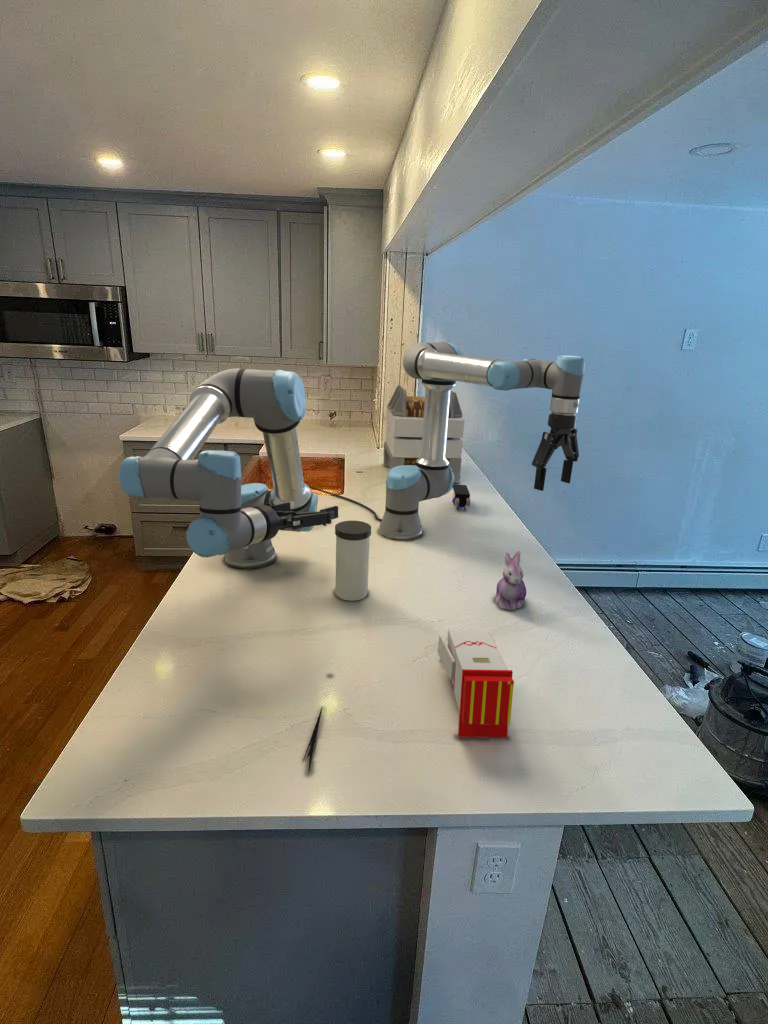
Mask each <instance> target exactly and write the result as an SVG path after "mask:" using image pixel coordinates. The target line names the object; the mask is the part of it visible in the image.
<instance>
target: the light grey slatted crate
mask: <svg viewBox="0 0 768 1024" xmlns="http://www.w3.org/2000/svg"><path fill="white" fill-rule="evenodd" d="M407 394H408V393H407V390H406V389H404V388H403V387H402V385H399V384H398V385H397V386H396V388H395V390H394V392H393V394H392V395H391V398H390V400H389V402H388V404H387V405H386V413H385V414H386V415H385V423H386V428H385V438H384V442H383V466H384V467H388V468H389V470H390V469H392V468H394V467H396V466H401V465H404V466H405V465H413V466H416V461H417V459H418V458H420V457H421V449H422V434H423V419H424V404H425V396H415V395H414V396H413V395H412V396H411V395H407ZM464 429H465V419H464V418H463V411H462V408H461V405H460V402H459V398H458V395H457V392H455V391H453V390H451V392H450V404H449V416H448V428H447V441H446V453H445V458H446V459H447V461H448V462H449V466H450V467H451V469H452V473H454V484H459V483H461V472H462V461H463V460H462V453H463V442H464V441H463V440H462V439H463V438H464V431H465V430H464Z"/></svg>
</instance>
